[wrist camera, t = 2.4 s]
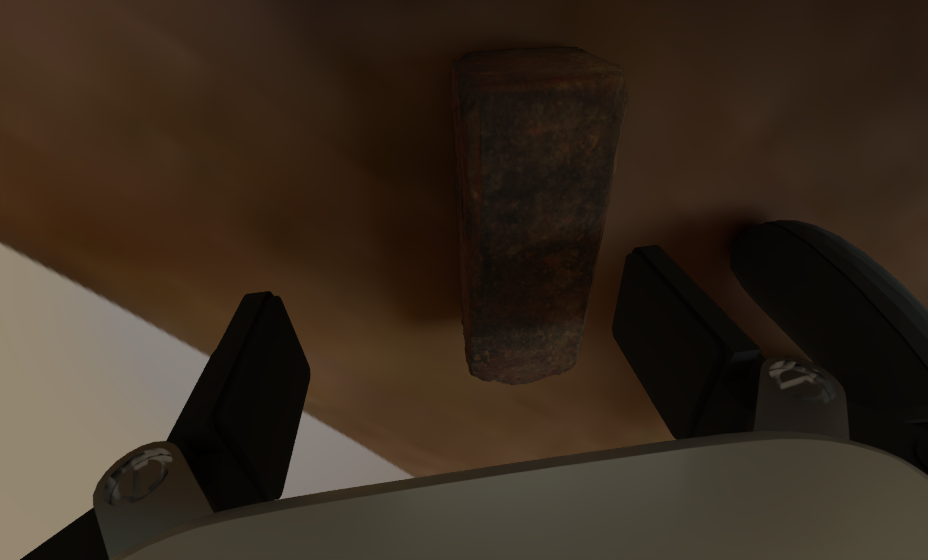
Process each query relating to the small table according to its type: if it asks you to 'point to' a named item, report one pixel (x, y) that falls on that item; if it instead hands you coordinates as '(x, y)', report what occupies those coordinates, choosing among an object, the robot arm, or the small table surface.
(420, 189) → the small table surface
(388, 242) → the small table surface
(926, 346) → the gaming controller
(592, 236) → the brick
